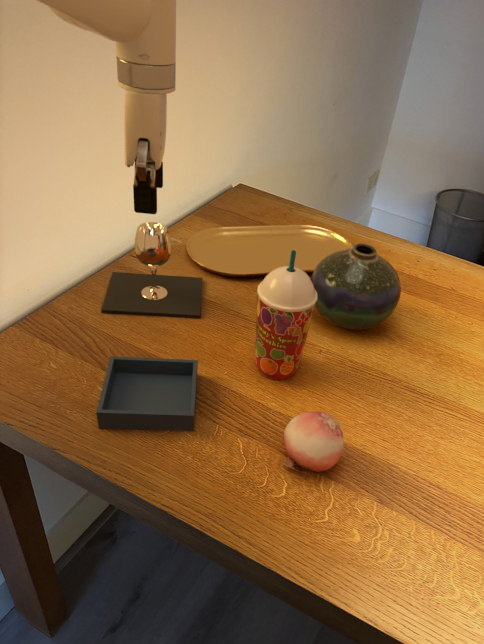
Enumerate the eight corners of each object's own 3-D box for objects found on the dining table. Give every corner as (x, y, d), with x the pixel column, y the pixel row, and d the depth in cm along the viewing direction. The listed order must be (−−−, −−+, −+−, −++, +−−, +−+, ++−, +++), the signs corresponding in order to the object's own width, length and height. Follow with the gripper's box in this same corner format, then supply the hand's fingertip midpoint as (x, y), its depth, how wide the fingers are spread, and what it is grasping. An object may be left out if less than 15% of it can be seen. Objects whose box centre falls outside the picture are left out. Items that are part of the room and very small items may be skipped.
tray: (98, 428, 70) (96, 412, 68) (112, 371, 79) (110, 356, 77) (194, 431, 72) (194, 415, 70) (197, 375, 80) (197, 359, 78)
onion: (347, 478, 69) (359, 440, 64) (289, 488, 67) (297, 449, 62) (325, 432, 75) (335, 394, 70) (271, 440, 72) (278, 401, 68)
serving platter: (178, 235, 112) (178, 228, 111) (334, 229, 123) (335, 223, 122) (196, 284, 99) (196, 276, 98) (368, 273, 110) (370, 266, 109)
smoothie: (240, 375, 81) (251, 256, 68) (260, 344, 88) (275, 230, 75) (292, 393, 80) (314, 274, 67) (309, 360, 86) (332, 246, 73)
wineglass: (132, 298, 92) (128, 233, 84) (144, 281, 96) (141, 218, 89) (165, 304, 92) (164, 240, 84) (175, 287, 96) (175, 224, 88)
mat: (101, 312, 89) (101, 309, 89) (112, 274, 98) (112, 271, 98) (200, 318, 91) (200, 315, 91) (202, 280, 100) (202, 277, 100)
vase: (293, 295, 100) (304, 228, 91) (368, 290, 105) (385, 225, 96) (324, 347, 89) (339, 276, 80) (406, 338, 94) (429, 271, 85)
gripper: (126, 57, 78) (131, 175, 89) (106, 87, 65) (115, 221, 76) (179, 64, 79) (178, 180, 90) (170, 95, 66) (169, 226, 77)
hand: (149, 199), depth 83 cm, fingers open, 9 cm apart
